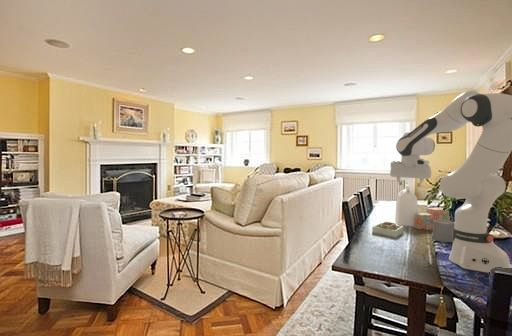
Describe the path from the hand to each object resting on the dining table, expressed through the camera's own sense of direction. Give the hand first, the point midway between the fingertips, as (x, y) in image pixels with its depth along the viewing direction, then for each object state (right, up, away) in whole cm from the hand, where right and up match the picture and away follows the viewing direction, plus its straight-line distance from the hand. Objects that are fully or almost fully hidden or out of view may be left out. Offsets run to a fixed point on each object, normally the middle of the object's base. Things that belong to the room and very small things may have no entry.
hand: (409, 185), depth 157 cm
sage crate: (-8, -29, +9) cm, 31 cm away
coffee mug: (+19, -30, -4) cm, 35 cm away
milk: (+15, -28, +32) cm, 45 cm away
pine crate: (-8, -28, +9) cm, 30 cm away
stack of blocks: (+26, -28, +22) cm, 44 cm away
